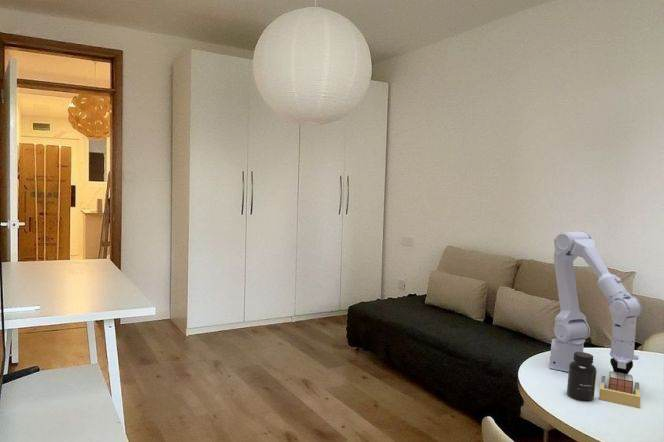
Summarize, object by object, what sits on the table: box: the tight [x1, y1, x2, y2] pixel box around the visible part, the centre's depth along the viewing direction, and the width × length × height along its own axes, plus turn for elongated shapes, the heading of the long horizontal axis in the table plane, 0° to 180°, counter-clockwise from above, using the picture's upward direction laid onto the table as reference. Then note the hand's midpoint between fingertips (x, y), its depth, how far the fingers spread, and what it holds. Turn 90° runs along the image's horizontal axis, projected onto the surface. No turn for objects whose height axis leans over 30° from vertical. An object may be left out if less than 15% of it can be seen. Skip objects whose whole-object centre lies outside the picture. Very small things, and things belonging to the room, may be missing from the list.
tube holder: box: [598, 375, 641, 409], centre depth 139 cm, size 10×13×3 cm
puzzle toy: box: [607, 370, 634, 394], centre depth 139 cm, size 6×6×6 cm
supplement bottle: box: [566, 351, 597, 402], centre depth 137 cm, size 7×7×12 cm
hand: (619, 385), depth 143 cm, fingers closed
